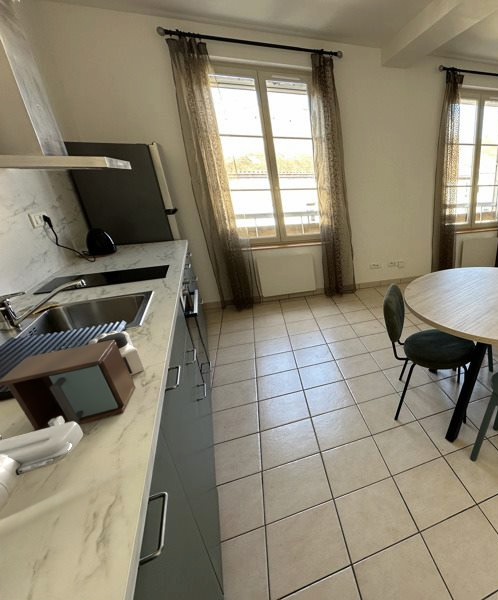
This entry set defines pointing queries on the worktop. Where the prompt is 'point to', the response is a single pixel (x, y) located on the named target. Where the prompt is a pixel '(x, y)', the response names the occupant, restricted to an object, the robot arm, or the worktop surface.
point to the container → (125, 352)
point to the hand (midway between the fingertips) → (28, 427)
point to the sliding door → (82, 392)
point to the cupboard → (36, 370)
